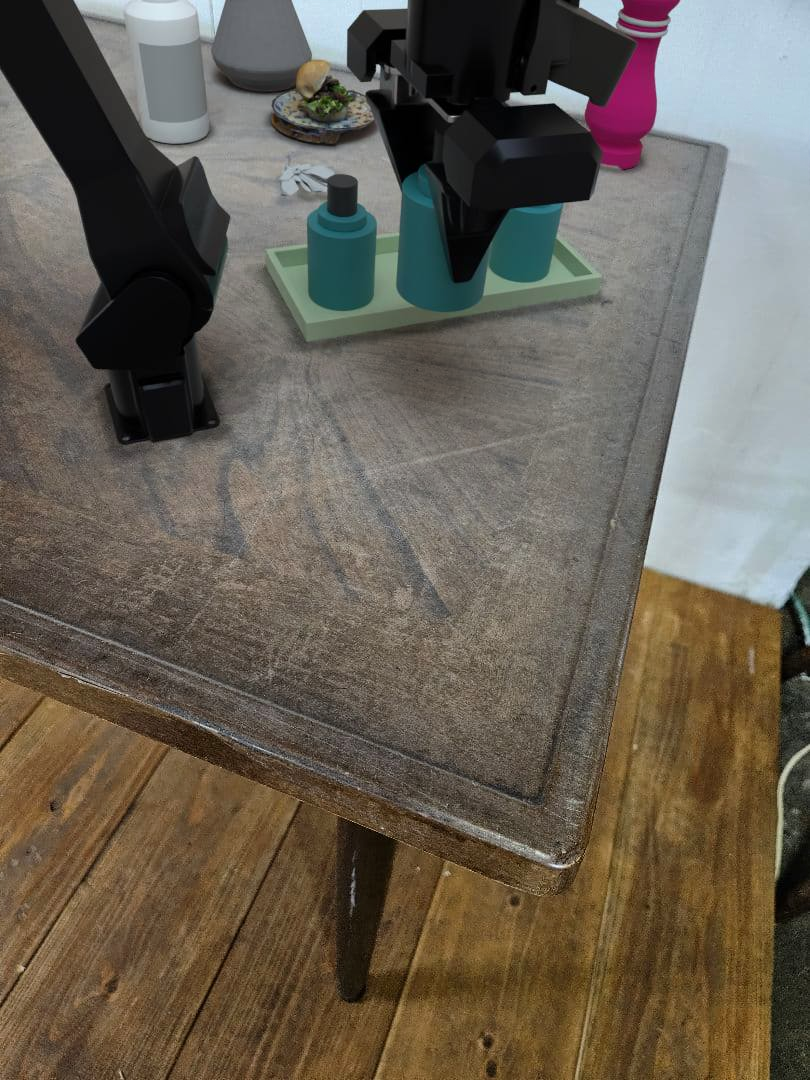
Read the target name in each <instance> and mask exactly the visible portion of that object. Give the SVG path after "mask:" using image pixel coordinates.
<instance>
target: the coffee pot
mask: <svg viewBox="0 0 810 1080" xmlns="http://www.w3.org/2000/svg"><path fill="white" fill-rule="evenodd" d="M222 7H223V8H222V11H221V14H220V17H219V21H218V24H217V28H216V31H215V35H214V39H213V42H212V45H211V48H210V52H211V56H212V59H213V62H214V63H215V66H216V68H218V70H219V71H220V72H221V73H222V74H223V75H224V76H225V77H226V78H228V79H229V80H230V83H232V85H234V86H235V87H238V88H240V89H244V90H247V91H252V92H260V93H261V92H262V93H265V92H269V93H271V92H272V93H273V92H279V91H280V92H281V91H284V90H288V89H290V88H292V87H294V86H296V78H297V74H298V71H299V69H300V68H301V67H302V66H303V65H304V64H305V63H306V61H307V62H309V61H312V59H313V53H312V50H311V47H310V44H309V42H308V40H307V37H306V34H305V32H304V29H303V26H302V24H301V22H300V21H301V20H300V18H299V16H298V13H297V10H296V8H295V5H294V3H293V1H292V0H224V4H223V6H222ZM300 46H301V47H300ZM301 48H302V50H301ZM302 51H303V53H302ZM303 54H304V56H305V57H304V56H303ZM305 58H306V60H305Z"/></svg>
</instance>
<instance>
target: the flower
mask: <svg viewBox="0 0 810 1080" xmlns="http://www.w3.org/2000/svg"><path fill="white" fill-rule="evenodd" d="M293 153H295V152H294V151H291V152H288V154H286V155H285V156H286V159H287V161H286V163H285V165H284V169H283V168H282V169H281V170H280V172H281V173H282V175H281V176H280V177H279V178H278V180H280V182H281V183H280V185H281V189H280V190H281V192H280V195H282V196H286V197H287V196H288V197H290V196H292V195H294V194H296V192H298V191H299V190H300V187H299V186H298V185H297V183H298V184H300V185H301V187H302V188H303V189H304V190H305V191H306V192H308V193H311V192H314V193H315V192H324V193H327V179H328V178H329V177H330V176H332V175H335V173H336V172H335V167H334V166H333V165H332V166H331V165H330V166H329V165H318V164H313V163H310V162H307V163H305V164H304V163H303V164H301V163H299V164H298V163H296V162H294V164H295V165H291V162H292V154H293ZM305 183H306V184H307V185H308V186H307V185H306V184H305Z"/></svg>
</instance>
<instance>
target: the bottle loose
mask: <svg viewBox="0 0 810 1080" xmlns="http://www.w3.org/2000/svg"><path fill="white" fill-rule="evenodd" d="M452 124H453V123H443V124H440V125H438V126H437V127H436V129H435V137H434V149H433V160H432V161H430V162H427V163H431V162H442V161H443V147H444V137H445V132H446V131H447V130H448V129H449V128H450V127H451V126H452ZM398 232H399V246H398V262H397V278H396V288H397V291H398V293H399V295H400V296H401V297H402V298H403V299H404V300H405V301H407V302H408V303H410V304H412V305H414V306H416V307H419V308H422V309H425V310H429V311H435V312H456V311H462V310H465V309H468V308H471V307H473V306H474V305H476V304H477V303H478V302H479V301H480V300H481V298H482V297H483V293H484V287H485V280H486V273H487V267H488V260H489V254H490V247H491V244H490V246H489V247H488V249H487V251H486V253H485V255H484V257H483V259H482V261H481V263H480V265H479V266H478V268H477V270H476V272H475V274H474V276H473V278H472V279H471V280H470V281H469V282H464V283H454V282H453V281H452V280H451V278H450V274H449V270H448V266H447V263H446V259H445V255H444V250H443V246H442V241H441V237H440V232H439V228H438V223H437V219H436V214H435V210H434V205H433V201H432V197H431V192H430V188H429V183H428V179H427V174H426V170H425V164H423V165H422V166H421V167H420V168H419V171H417V172H415V173H413V174H411V175H409V176H408V177H407V178H406V179H405V180H404V182H403V185H402V192H401V201H400V216H399V231H398Z"/></svg>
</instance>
